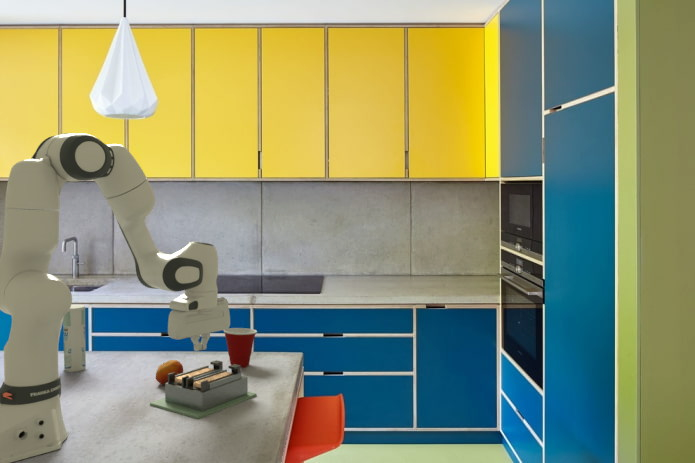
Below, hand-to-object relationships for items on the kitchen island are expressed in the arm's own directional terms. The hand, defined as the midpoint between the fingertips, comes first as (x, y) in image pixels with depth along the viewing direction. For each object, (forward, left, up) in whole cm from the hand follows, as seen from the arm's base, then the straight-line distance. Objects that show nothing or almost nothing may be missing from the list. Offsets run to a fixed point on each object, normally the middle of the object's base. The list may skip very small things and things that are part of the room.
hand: (200, 350), depth 178 cm
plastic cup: (+30, +12, -13) cm, 35 cm away
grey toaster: (-1, -4, -13) cm, 14 cm away
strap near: (-2, -7, -7) cm, 10 cm away
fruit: (+4, +16, -13) cm, 21 cm away
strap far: (-2, 0, -7) cm, 7 cm away
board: (-1, -4, -13) cm, 14 cm away
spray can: (-3, +52, -13) cm, 54 cm away
